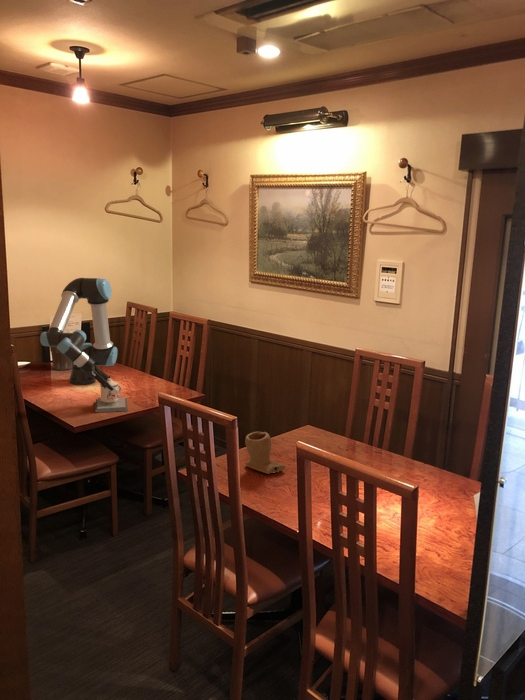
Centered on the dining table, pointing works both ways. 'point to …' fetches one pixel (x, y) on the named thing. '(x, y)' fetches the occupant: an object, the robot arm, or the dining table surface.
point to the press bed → (111, 405)
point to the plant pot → (60, 360)
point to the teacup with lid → (109, 392)
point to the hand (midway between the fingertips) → (117, 391)
